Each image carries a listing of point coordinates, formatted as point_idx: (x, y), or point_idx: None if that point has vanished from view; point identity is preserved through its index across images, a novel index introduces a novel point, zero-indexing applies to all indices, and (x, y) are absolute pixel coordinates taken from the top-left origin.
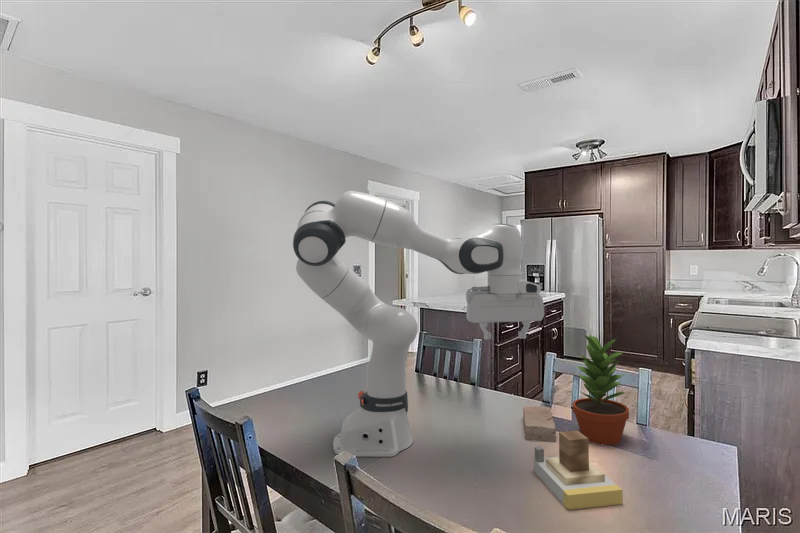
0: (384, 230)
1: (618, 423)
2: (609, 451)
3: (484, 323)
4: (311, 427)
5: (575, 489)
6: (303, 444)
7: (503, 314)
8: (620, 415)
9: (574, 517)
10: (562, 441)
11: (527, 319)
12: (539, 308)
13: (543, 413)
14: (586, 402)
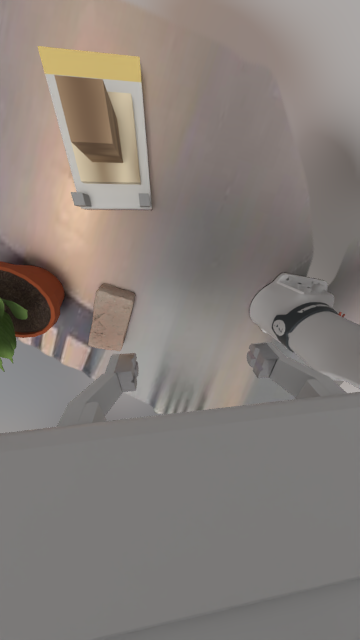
0: None
1: None
2: (35, 247)
3: (332, 393)
4: None
5: (121, 77)
6: (338, 308)
7: (272, 463)
8: None
9: (139, 45)
10: (112, 129)
11: (69, 436)
12: None
13: (101, 331)
14: (31, 326)
